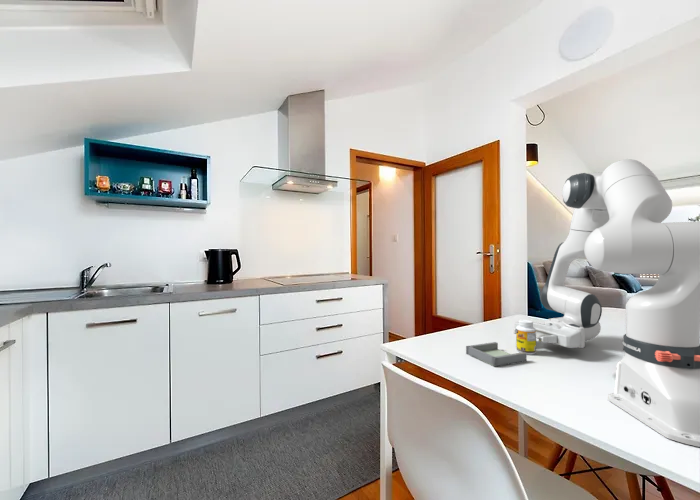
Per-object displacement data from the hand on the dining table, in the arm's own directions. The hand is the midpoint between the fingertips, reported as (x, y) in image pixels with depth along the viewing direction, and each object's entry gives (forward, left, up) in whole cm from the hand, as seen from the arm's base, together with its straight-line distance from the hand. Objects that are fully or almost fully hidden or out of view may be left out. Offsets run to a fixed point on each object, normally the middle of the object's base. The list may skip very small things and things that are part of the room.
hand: (527, 335), depth 100 cm
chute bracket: (-8, +11, -6) cm, 15 cm away
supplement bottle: (0, +1, -6) cm, 6 cm away
